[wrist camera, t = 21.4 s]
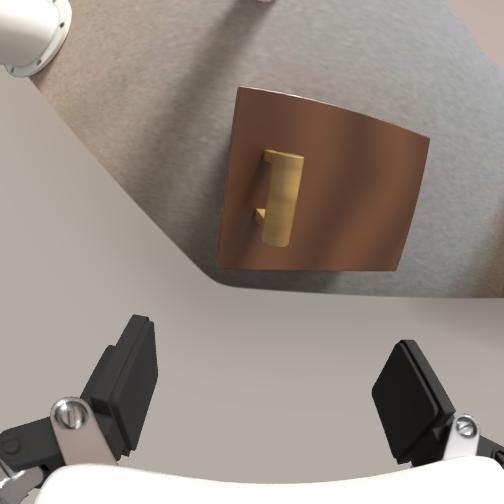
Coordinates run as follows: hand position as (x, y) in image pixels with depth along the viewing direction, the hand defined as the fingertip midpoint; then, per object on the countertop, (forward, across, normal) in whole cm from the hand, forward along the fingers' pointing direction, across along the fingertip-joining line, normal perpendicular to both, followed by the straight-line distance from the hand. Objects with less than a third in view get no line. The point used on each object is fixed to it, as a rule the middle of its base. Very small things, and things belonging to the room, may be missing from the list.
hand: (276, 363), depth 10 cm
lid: (+14, -5, -4) cm, 15 cm away
